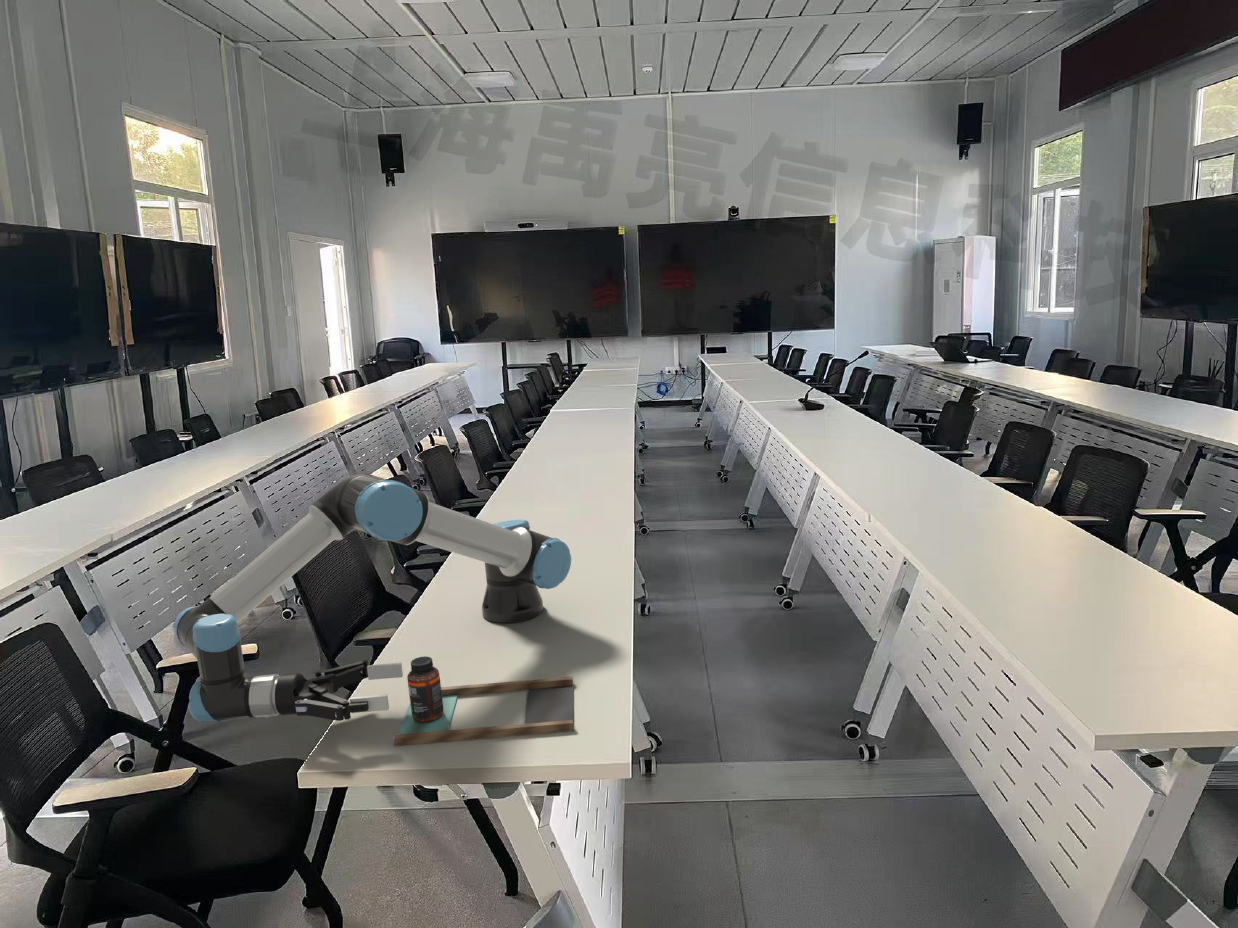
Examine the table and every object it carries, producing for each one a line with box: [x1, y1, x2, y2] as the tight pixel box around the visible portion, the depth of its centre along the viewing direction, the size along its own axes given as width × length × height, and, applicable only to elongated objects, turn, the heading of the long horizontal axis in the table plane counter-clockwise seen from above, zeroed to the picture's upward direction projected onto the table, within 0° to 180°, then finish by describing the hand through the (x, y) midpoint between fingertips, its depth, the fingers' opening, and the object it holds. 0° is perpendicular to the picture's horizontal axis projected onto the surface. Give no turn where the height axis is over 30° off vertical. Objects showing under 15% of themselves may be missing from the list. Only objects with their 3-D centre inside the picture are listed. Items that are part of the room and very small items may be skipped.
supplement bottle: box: [406, 655, 444, 722], centre depth 162 cm, size 6×6×11 cm
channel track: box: [393, 676, 574, 747], centre depth 164 cm, size 32×19×2 cm, turn 93°
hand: (395, 685), depth 161 cm, fingers open, 13 cm apart
